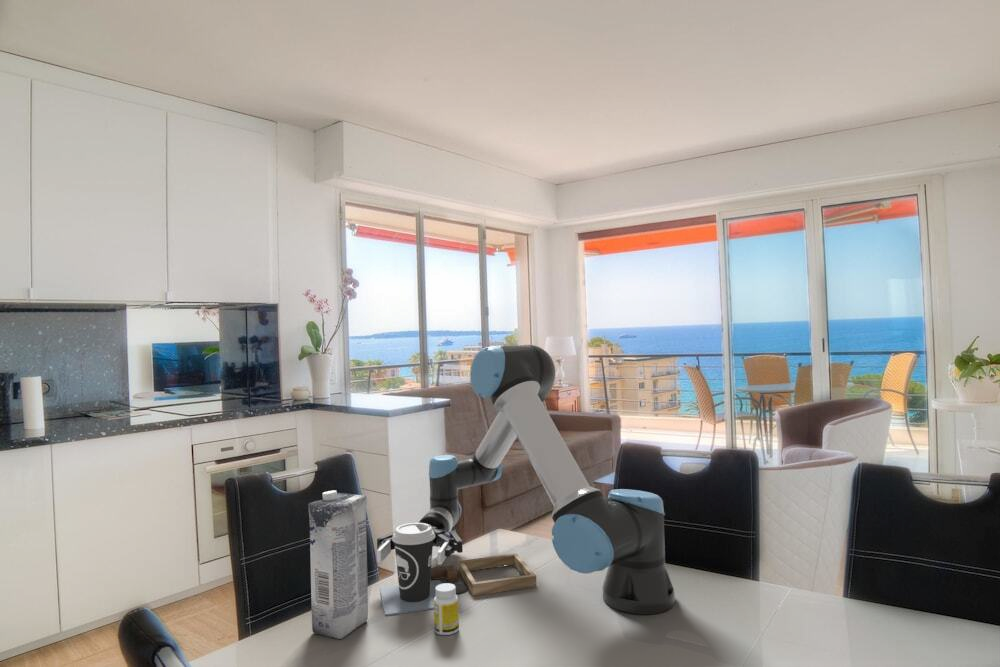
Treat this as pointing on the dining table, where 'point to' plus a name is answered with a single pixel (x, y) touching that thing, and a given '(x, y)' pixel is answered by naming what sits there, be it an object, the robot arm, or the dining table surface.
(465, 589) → the dark grey round disc
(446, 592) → the supplement bottle
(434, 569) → the walnut crook
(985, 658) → the dining table surface
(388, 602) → the slate pad
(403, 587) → the coffee cup
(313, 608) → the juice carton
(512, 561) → the wooden square frame
